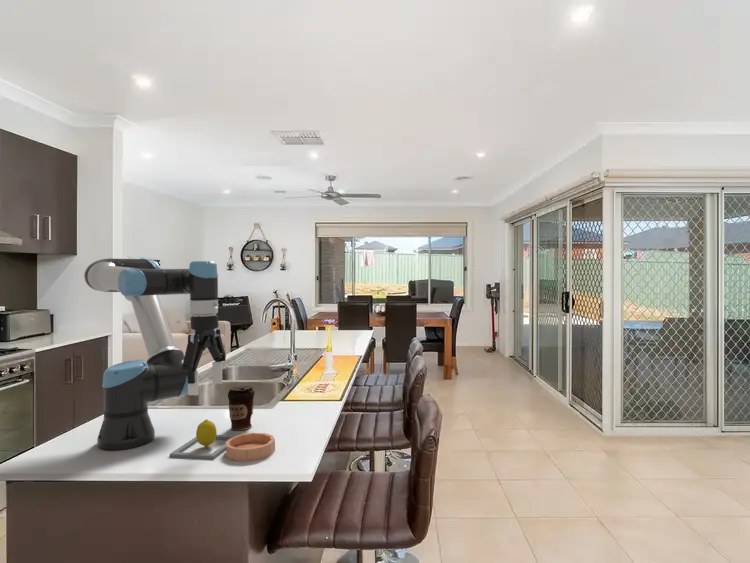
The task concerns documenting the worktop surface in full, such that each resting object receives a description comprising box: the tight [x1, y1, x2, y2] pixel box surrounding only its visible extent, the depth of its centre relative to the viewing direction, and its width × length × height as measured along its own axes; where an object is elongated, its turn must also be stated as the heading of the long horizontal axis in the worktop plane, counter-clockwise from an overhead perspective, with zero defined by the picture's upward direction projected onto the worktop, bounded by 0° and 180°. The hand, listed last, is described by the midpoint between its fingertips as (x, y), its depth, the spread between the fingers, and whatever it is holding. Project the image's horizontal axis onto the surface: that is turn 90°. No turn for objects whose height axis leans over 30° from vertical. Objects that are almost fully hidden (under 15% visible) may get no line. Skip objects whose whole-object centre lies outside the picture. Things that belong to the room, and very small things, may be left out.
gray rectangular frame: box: [169, 434, 236, 460], centre depth 134 cm, size 13×16×1 cm
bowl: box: [225, 432, 276, 462], centre depth 130 cm, size 13×13×3 cm
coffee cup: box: [227, 385, 256, 431], centre depth 151 cm, size 9×8×13 cm
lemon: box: [195, 419, 218, 448], centre depth 134 cm, size 6×6×8 cm
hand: (206, 389), depth 134 cm, fingers open, 13 cm apart
